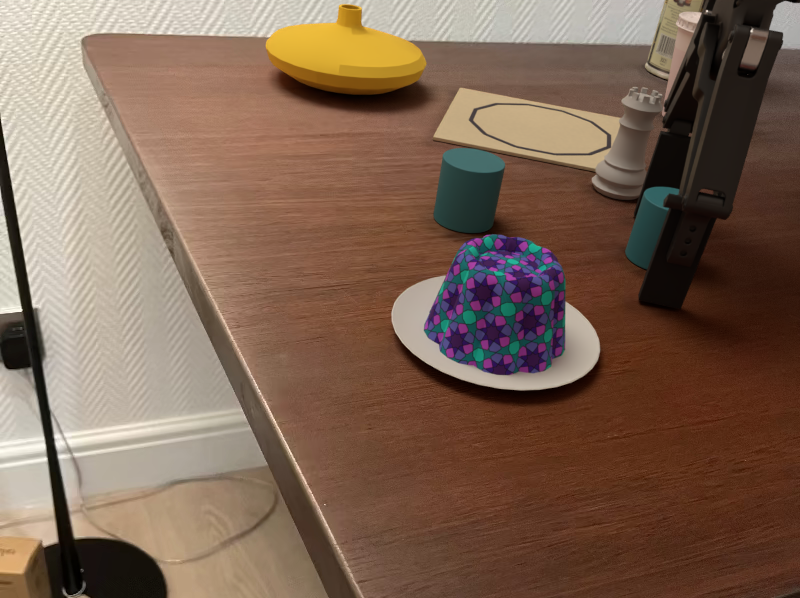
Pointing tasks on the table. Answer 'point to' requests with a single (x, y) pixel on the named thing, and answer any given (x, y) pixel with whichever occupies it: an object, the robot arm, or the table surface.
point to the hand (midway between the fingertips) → (654, 256)
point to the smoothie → (681, 45)
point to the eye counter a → (468, 190)
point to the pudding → (498, 318)
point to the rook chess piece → (629, 147)
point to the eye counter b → (648, 225)
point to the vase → (345, 55)
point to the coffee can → (668, 35)
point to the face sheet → (528, 129)
